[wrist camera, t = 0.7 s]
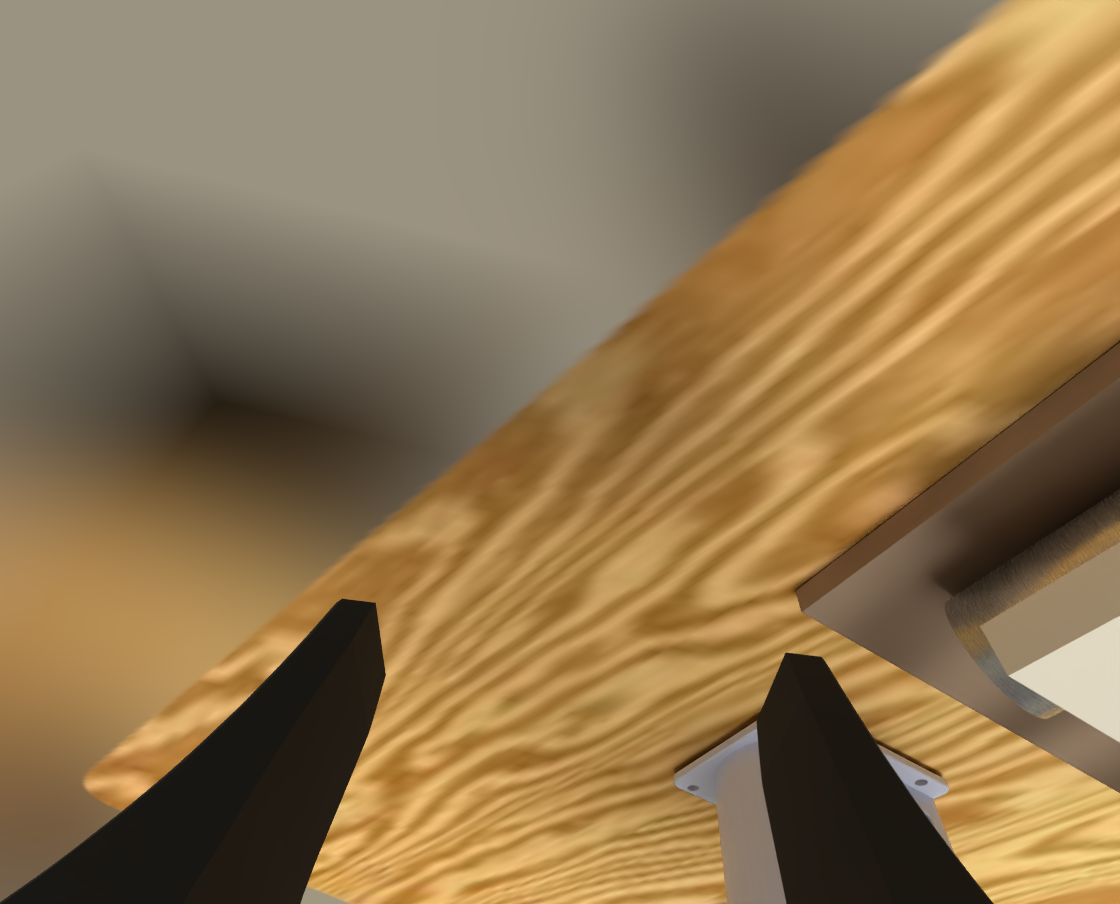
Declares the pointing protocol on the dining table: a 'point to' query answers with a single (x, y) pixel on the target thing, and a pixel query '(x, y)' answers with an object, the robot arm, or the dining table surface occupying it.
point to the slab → (1068, 642)
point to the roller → (1029, 591)
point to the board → (983, 555)
